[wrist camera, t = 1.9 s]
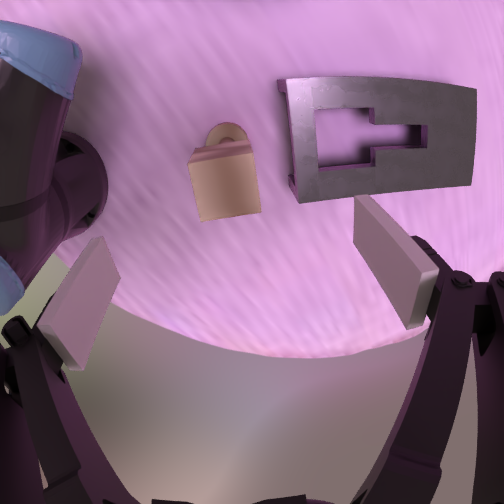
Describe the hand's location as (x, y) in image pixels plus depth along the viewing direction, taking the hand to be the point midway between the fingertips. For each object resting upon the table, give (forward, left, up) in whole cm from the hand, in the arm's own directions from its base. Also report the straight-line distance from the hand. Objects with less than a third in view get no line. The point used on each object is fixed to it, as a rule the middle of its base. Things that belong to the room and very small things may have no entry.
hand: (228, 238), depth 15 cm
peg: (0, 0, -24) cm, 24 cm away
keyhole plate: (+20, 0, -24) cm, 31 cm away
